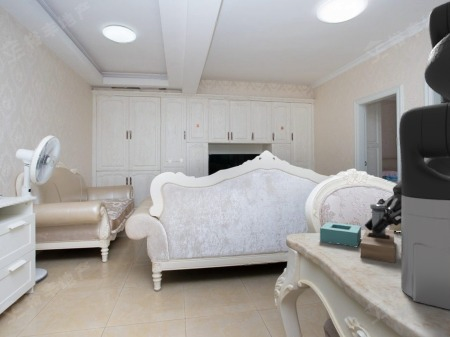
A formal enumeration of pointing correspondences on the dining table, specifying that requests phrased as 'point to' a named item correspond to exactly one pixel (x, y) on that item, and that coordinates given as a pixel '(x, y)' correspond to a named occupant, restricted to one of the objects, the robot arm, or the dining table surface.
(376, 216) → the axle
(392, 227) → the decorative ornament
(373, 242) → the beam
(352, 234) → the holder
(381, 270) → the dining table surface
